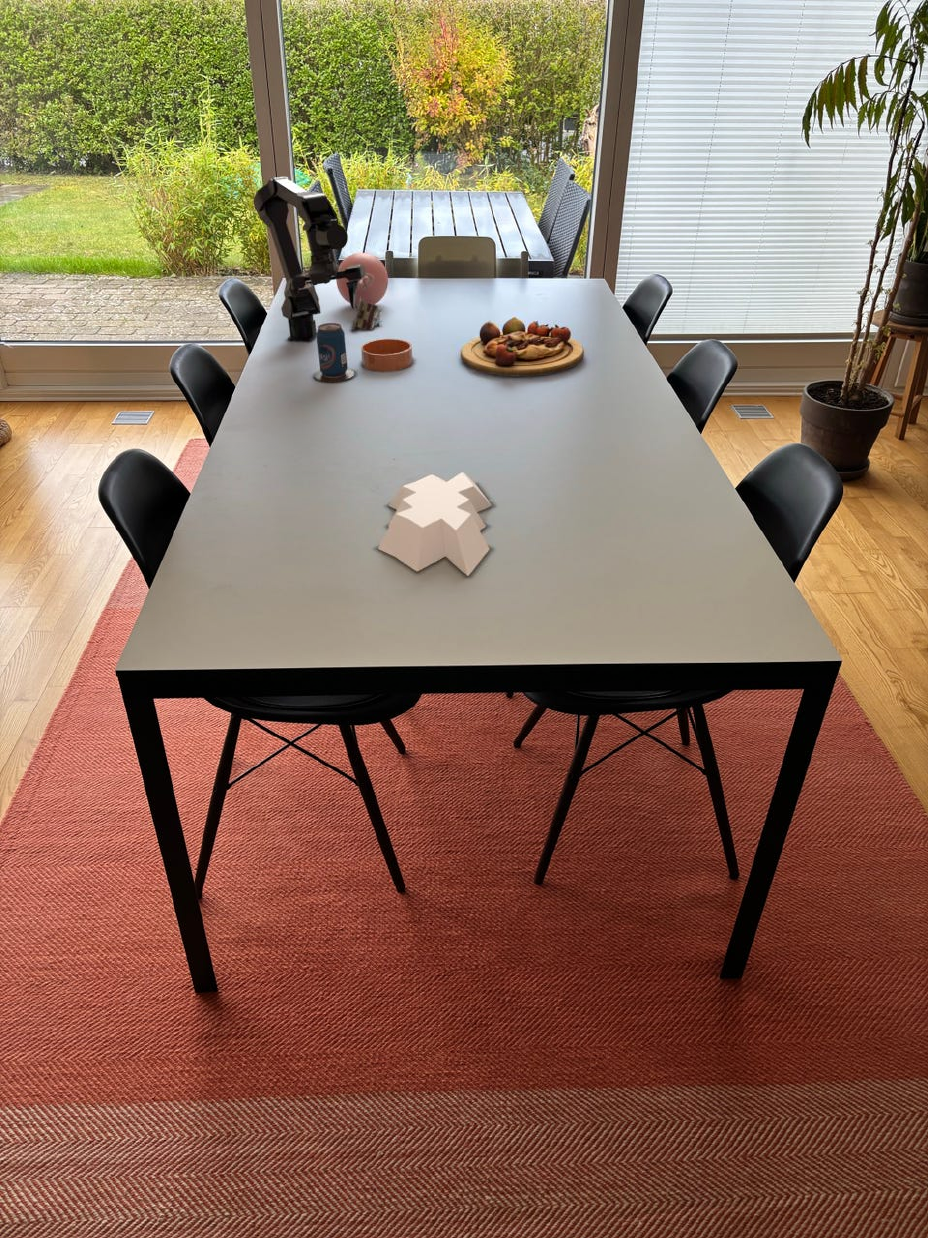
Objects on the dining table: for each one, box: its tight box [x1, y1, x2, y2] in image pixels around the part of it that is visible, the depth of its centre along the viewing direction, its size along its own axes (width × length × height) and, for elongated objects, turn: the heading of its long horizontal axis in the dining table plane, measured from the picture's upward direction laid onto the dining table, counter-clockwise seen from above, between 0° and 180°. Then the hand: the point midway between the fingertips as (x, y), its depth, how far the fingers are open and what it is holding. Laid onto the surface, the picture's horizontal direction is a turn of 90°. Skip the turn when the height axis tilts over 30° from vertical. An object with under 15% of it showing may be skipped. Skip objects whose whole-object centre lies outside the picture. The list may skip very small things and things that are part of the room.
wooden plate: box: [460, 316, 585, 377], centre depth 254 cm, size 32×32×8 cm
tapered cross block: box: [377, 471, 493, 577], centre depth 178 cm, size 35×20×6 cm, turn 177°
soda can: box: [315, 322, 349, 378], centre depth 244 cm, size 7×7×12 cm
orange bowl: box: [360, 338, 413, 372], centre depth 254 cm, size 13×13×4 cm
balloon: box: [335, 252, 389, 307], centre depth 292 cm, size 15×20×15 cm
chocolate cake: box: [351, 297, 382, 331], centre depth 282 cm, size 10×7×12 cm
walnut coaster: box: [314, 368, 355, 384], centre depth 247 cm, size 10×10×1 cm
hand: (336, 310), depth 255 cm, fingers open, 9 cm apart
